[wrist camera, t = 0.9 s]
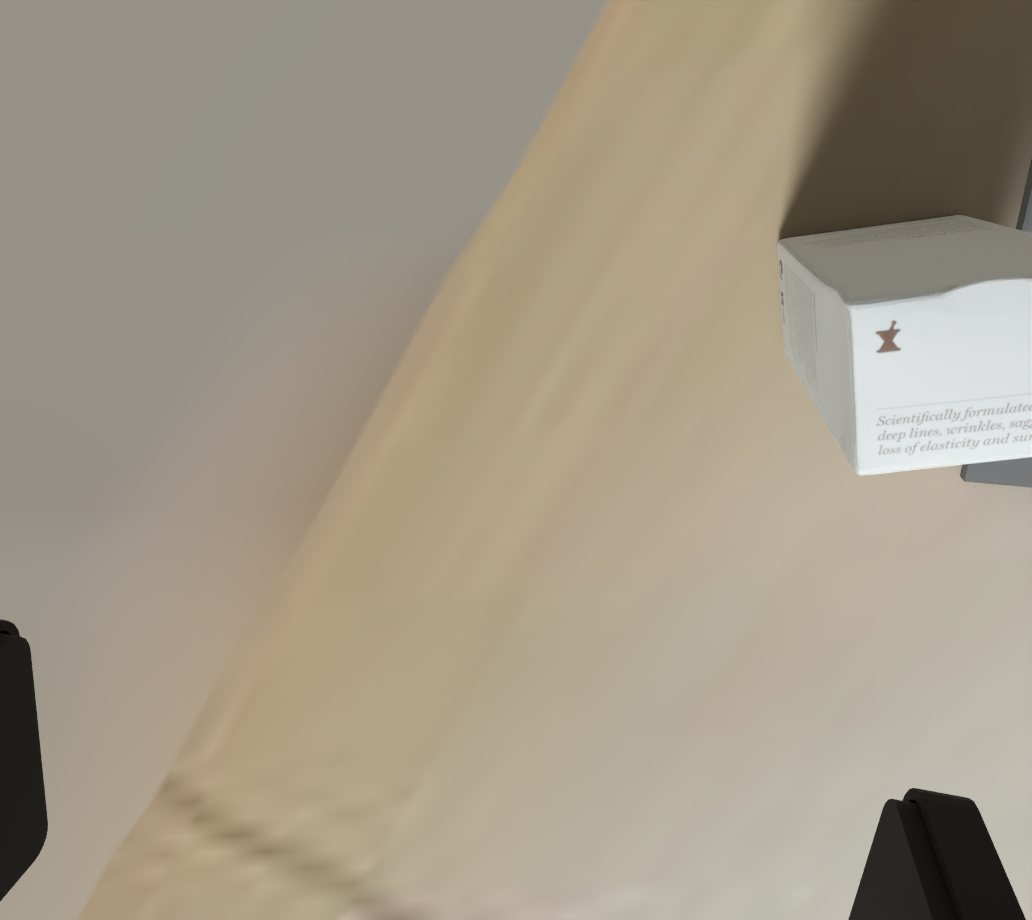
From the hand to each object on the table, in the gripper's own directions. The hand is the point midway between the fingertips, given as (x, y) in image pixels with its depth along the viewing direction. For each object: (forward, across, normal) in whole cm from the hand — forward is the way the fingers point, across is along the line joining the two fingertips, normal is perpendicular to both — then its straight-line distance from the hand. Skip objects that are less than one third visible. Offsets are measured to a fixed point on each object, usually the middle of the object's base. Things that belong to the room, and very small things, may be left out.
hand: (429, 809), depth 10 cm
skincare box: (+25, -9, -2) cm, 27 cm away
